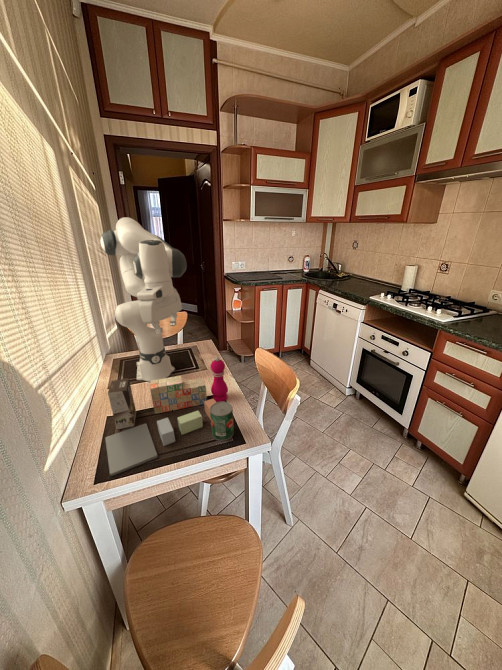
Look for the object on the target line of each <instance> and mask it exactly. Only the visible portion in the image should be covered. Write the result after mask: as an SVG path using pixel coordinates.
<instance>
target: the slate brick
mask: <svg viewBox="0 0 502 670" xmlns="http://www.w3.org/2000/svg"><path fill="white" fill-rule="evenodd" d="M169 419H170V418H169V417H165V418H162V419H159V420H156V425H157V429H158V433H159V437H160V440H161V442H162V445H163V447H166V446H167V445H170V444H173V443H175V442H176V437H175V432H174V431H175V430H174V428H173V426H172V424H171V422H170V420H169Z"/></svg>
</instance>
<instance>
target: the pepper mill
mask: <svg viewBox="0 0 502 670" xmlns="http://www.w3.org/2000/svg"><path fill="white" fill-rule="evenodd" d="M225 369H226V364H225V362H224V361H223V360H222V359H220V357H218V356H216V357H215V359H214V360H212V362H211V363H210V370H211V371H212V372H211V373H212V376H213V382H212V384H211V387H210V392H211V394H212V399H214V400H215V401H216V402H222V401H223V402H226V401H227V400H228V392H229V387H228V385H227V383H226V381H225V380H224V375H225Z"/></svg>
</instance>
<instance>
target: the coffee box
mask: <svg viewBox="0 0 502 670" xmlns="http://www.w3.org/2000/svg"><path fill="white" fill-rule="evenodd" d="M107 396H108V400H109V403H110V408H111V411H112V415H113V416H112V417H113V420H114V424H115V427H116V430H121V429H127V428H134V427H135V422H136V417H137V416H136V415H137V410H136V404H135V400H134V396H133V391H132V386H131V382H130V378H129V377H127V378H122V379H117V380H111V382H110V386H109V387H108V392H107Z"/></svg>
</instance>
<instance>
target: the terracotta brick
mask: <svg viewBox="0 0 502 670" xmlns="http://www.w3.org/2000/svg"><path fill="white" fill-rule="evenodd" d="M214 403H217V402H216V401H215V400H214V399H213V398H211V399H207V401H204V404H203V405H204V413H205V414H206V415H207V417H208V418H209V419H210V420H211V415H210V407H211V406H212V405H213V404H214Z"/></svg>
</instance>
